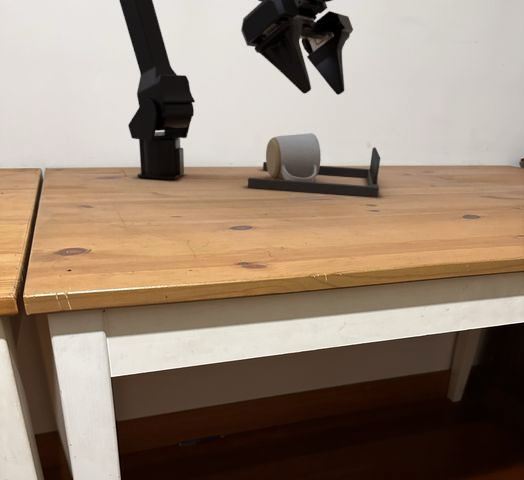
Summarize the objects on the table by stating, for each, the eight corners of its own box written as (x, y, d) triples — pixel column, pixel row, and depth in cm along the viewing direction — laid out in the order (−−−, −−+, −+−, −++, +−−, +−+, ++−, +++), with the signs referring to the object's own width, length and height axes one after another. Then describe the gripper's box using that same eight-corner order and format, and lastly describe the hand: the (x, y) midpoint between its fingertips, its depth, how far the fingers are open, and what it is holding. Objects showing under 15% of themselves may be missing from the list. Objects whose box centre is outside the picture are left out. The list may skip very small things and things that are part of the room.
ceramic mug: (262, 175, 96) (264, 130, 92) (304, 174, 98) (307, 131, 95) (282, 187, 87) (285, 138, 83) (327, 186, 90) (332, 139, 86)
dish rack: (247, 187, 85) (248, 150, 83) (263, 169, 102) (264, 138, 99) (377, 197, 83) (382, 159, 80) (372, 177, 100) (376, 145, 97)
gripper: (288, -98, 54) (344, 50, 56) (363, -57, 68) (406, 61, 70) (216, -24, 61) (268, 104, 63) (298, 0, 75) (338, 104, 77)
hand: (325, 92), depth 68 cm, fingers open, 9 cm apart
